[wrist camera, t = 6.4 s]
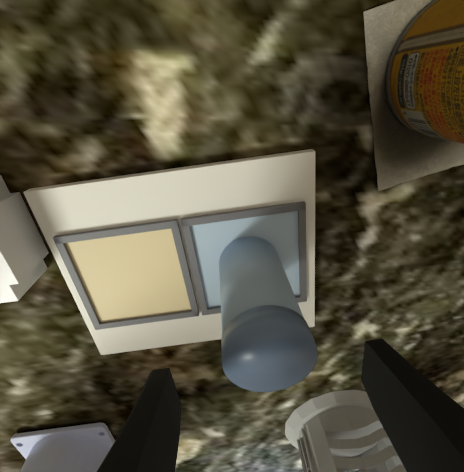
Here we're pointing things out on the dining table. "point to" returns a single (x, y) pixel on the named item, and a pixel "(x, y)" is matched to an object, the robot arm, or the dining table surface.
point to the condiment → (416, 87)
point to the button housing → (18, 247)
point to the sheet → (175, 243)
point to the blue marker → (261, 320)
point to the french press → (341, 435)
